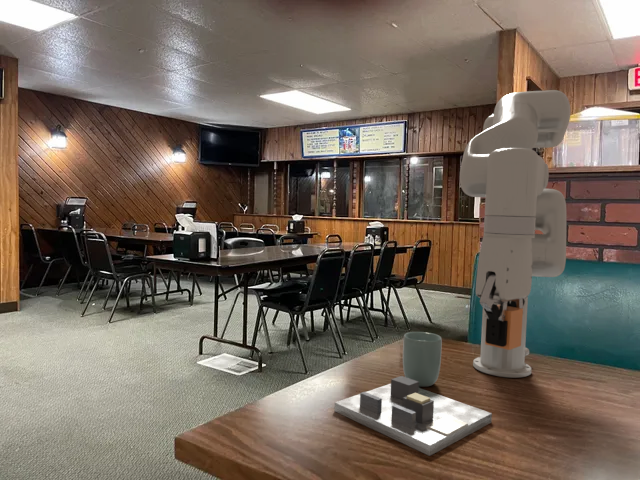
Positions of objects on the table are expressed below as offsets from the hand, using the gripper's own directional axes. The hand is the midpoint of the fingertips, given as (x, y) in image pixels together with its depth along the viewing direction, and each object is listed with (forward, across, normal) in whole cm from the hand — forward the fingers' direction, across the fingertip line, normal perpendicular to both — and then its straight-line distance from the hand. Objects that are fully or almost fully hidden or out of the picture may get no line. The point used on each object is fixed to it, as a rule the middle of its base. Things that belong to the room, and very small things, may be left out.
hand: (503, 340), depth 77 cm
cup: (+15, -9, -22) cm, 28 cm away
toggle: (+14, +3, -17) cm, 22 cm away
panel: (+15, +6, -13) cm, 21 cm away
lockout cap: (+1, 0, 0) cm, 1 cm away
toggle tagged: (+14, +8, -10) cm, 19 cm away
